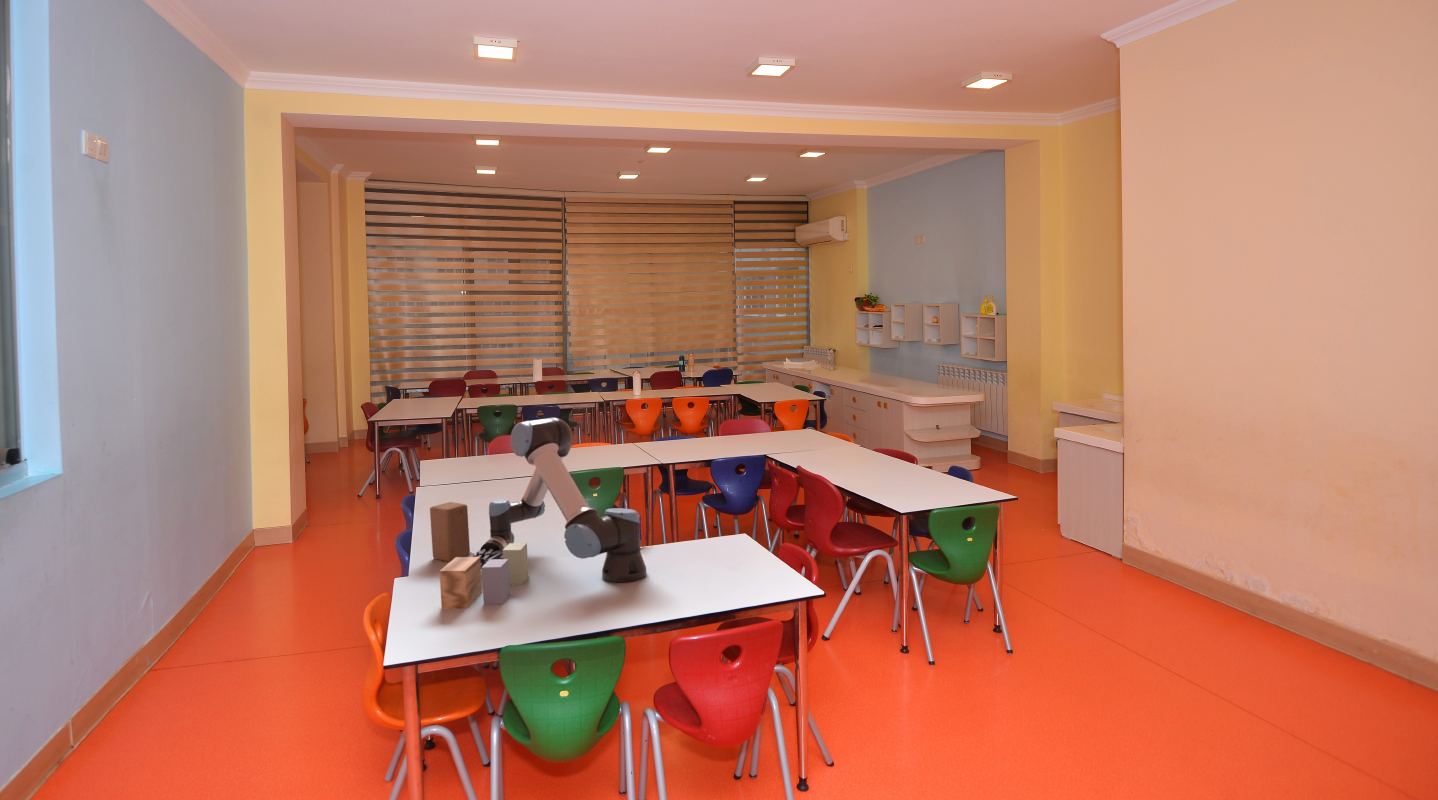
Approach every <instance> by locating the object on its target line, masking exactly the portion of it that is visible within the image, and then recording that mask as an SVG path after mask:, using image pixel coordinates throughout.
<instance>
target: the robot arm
mask: <svg viewBox="0 0 1438 800" xmlns="http://www.w3.org/2000/svg"><path fill="white" fill-rule="evenodd" d="M510 433H511V434H510V446H511V449H512V451H513V454H514V455H516V456H518V457H521V458H522V457H524V458H525V460H526V461H527V463H528V464H529V465H530V466H531V465H532V466H535V468H534V472H533V474H532V476H531V478H530V480H529V482H528V485H527V487H526V489H525V491H524V493H523V495H522V498H521V500H518V501H515V502H510V500H509V499H505V498H504V499H503V498H502V499H501V498H499V499H495V500H492V501H490V502H489V505H488V515H489V516H488V517H489V526H490V527H489V531H490V532H489V533H490V534H489V535H490V538H489V539H488V540H487V541H486V542H484V544H483V545H482V546H481V547H480V549H479V550H478V551H477V552H476V553H475V552H471V551H470V553H469V556H468V557H480V562H481V570H482V566H483V565H484V564H486V563H487V562H488V561H489V560H490V559H503V549H504V548H505V547H506V546H507V545H508V544H509V543H515V539H516V538H515V535H514V533H513V531H512V524H514V523H519V522H523V521H527V520H530V519H536V518H538V517H541V516H542V515H544V513H545V511H546V509H545V508H546V505H545V502H544V499H545V498H546V495H547V493H548V491H549V493H550V494H551V496H552V498H553V499H554V502H555V503H556V505H557V507H558V509H559V510H560V512H561V514H562V516H563V518H564V520H565V521H566V522H565V524H564V528H565V532H564V539H565V541H564V542H565V545H566V547H567V549H568V551H569V552H570V553H571V554H572V555H573V556H574V557H576V558H577V559H582V560H583V559H588V558H594V557H597V556H599V555H602V554H605V553H606V555H605V559H604V562H603V566H602V570H601V575H602V576H601V577H602V579H603V580H605V581H607V582H612V583H631V582H636V581H640V580H641V579H644V578H645V577H646V576H647V565H646V564H645V561H644V559H643V558H644V557H643V556H642V552H641V541H640V529H641V528H640V521H639V516H640V514H639V512H638V511H636V510H635V509H631V508H630V509H629V508H620V507H618V508H616V507H615V508H613V507H612V508H606V509H605V510H604V516H600V514H599V513H598V511H597V509H596V508H592V507H590V506H589V504H588V503H587V501H586V500H585V498H584V496H583V494H582V493H581V491H580V490H579V488H578V486H577V484H576V482H575V480H574V479H573V477H572V476H571V474H570V472H569V470H568V469H567V467H566V465H565V464H564V462H563V458H566V457H567V456H568V455H569V453H570V450H571V448H572V446H573V432H572V429H571V427H570V426H569V424H568V423H567V421H565V420H563V419H561V418H558V417H547V418H541V419H534V420H533V419H532V420H525V421H521V422H517V424H515V425H514V427H513V428H512V430H511V432H510Z"/></svg>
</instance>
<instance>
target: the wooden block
mask: <svg viewBox="0 0 1438 800" xmlns="http://www.w3.org/2000/svg"><path fill="white" fill-rule="evenodd" d="M467 505H468V504H465V503H459V502H454V501H453V502H452V501H450V502H446V503H441V504H437V505H433V506H431V507H430V509H429V515H430V531H431V532H430V533H431V545H432V546H431V550H432V557H433V559H435V560H439V561H444V562H448V563H450V562H451V561H452V560H453V559H454V558H456V557H469V553H470V552H471V549H470V548H471V547H470V533H469V531H470V530H469V513H468V506H467Z"/></svg>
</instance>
